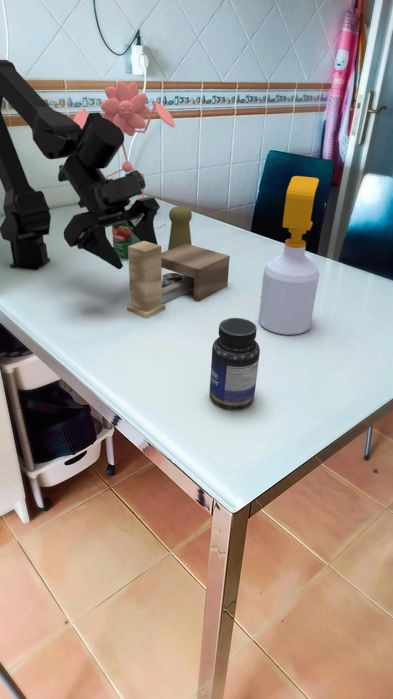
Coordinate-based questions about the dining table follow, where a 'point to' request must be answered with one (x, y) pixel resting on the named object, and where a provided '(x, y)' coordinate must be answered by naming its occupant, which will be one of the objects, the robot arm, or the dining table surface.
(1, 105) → the robot arm
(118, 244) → the canned tomato
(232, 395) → the pill bottle
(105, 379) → the dining table surface
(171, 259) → the plinth
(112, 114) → the pink daisy figurine
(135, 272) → the blade tool
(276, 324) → the soap bottle
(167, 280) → the steel token
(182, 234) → the olive pawn figure
